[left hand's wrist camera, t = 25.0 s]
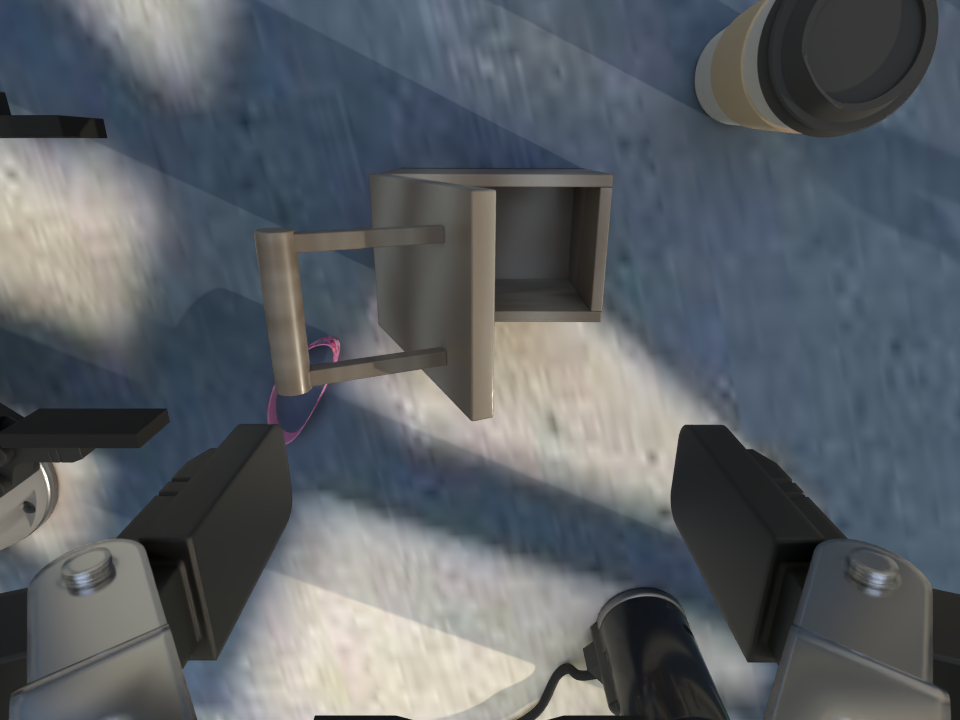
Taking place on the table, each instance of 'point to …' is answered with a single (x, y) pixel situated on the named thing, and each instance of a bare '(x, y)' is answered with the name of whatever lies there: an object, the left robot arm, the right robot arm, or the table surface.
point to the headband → (272, 413)
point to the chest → (543, 238)
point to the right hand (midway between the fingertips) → (123, 291)
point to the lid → (400, 290)
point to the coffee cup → (817, 64)
